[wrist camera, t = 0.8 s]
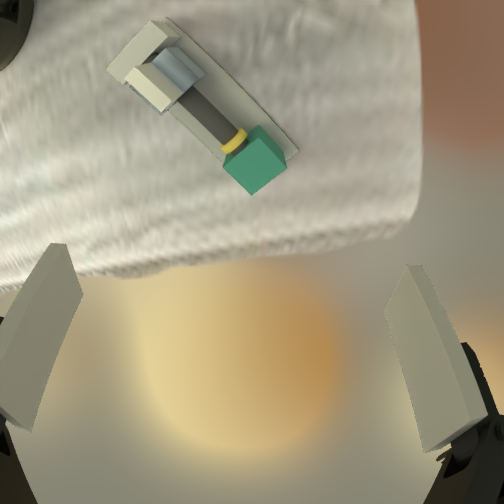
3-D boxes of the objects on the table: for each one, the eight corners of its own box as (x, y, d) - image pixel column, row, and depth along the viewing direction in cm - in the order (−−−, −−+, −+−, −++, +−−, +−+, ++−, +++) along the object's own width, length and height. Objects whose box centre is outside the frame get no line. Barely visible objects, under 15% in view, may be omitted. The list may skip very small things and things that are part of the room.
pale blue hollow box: (146, 79, 27) (110, 95, 20) (178, 46, 25) (150, 49, 18) (173, 105, 29) (146, 127, 22) (206, 73, 27) (188, 84, 20)
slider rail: (121, 66, 27) (99, 72, 23) (167, 17, 24) (150, 14, 20) (249, 187, 36) (248, 210, 32) (298, 149, 33) (304, 168, 29)
